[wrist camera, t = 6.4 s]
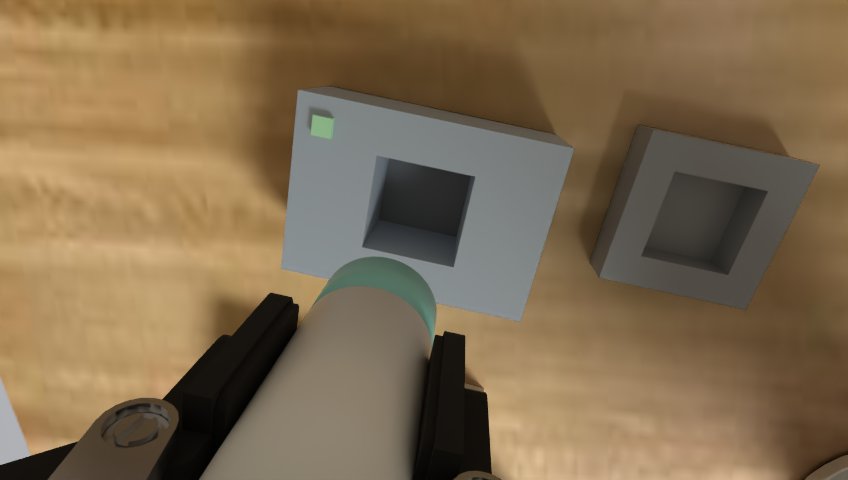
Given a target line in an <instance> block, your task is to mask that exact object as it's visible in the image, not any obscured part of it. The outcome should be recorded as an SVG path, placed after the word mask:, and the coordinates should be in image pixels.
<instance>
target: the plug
mask: <svg viewBox="0 0 848 480" xmlns="http://www.w3.org/2000/svg"><path fill="white" fill-rule="evenodd" d="M435 322H436V302H435V299H434V295H433V293H432V291H431V289H430V287H429V285H428V284H427V282H426V281H425V280H424V279H423V277H422V276H421V275H420V274H419V273H418V272H416V271H415V270H414V269H412V268H411V267H409V266H408V265H406V264H404V263H402V262H400V261H397V260H394V259H391V258H386V257H374V256H373V257H364V258H359V259H356V260H353V261H351V262H349V263H347V264H345V265H344V266H342V267H341V268H339V269H338V270H337V271H336V272H335V273H334V274H333V276H332V277H331V278H330V280H329V281H328V283H327V284H326V286H325V287H324V289H323V290H322V292H321V293H320V295H319V296H318V298H317V299H316V301H315V303H314V304H313V306H312V307H311V309H310V310H309V312H308V313H307V315H306V316H305V318H304V319H303V321H302V322H301V324H300V326H299V327H298V329H297V330H296V332H295V333H294V335H293V336H292V338H291V339H290V341H289V342H288V344H287V345H286V347H285V349H284V350H283V352H282V353H281V355H280V356H279V358H278V359H277V361H276V362H275V364H274V365H273V367H272V368H271V370H270V371H269V373H268V375H267V376H266V378H265V379H264V381H263V382H262V384H261V385H260V387H259V388H258V390H257V391H256V393H255V394H254V396H253V398H252V399H251V401H250V402H249V404H248V405H247V407H246V408H245V410H244V411H243V413H242V414H241V416H240V417H239V419H238V421H237V422H236V424H235V425H234V427H233V428H232V430H231V431H230V433H229V434H228V436H227V437H226V439H225V440H224V442H223V444H222V445H221V447H220V448H219V450H218V451H217V453H216V454H215V456H214V457H213V459H212V460H211V462H210V463H209V465H208V466H207V468H206V470H205V471H204V473H203V474H202V476H201V477H200V479H199V480H413V477H414V470H415V462H416V455H417V447H418V440H419V432H420V425H421V417H422V410H423V402H424V395H425V387H426V380H427V373H428V365H429V359H430V354H431V350H432V346H433V338H434V330H435Z"/></svg>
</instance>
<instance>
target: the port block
mask: <svg viewBox="0 0 848 480" xmlns="http://www.w3.org/2000/svg"><path fill="white" fill-rule="evenodd" d="M573 152H574V148H573V147H572V146H570V145H569V144H568V143H567V142H565V141H564V140H563V139H561V138H560V137H559V136H558V135H556V134H553V133H549V132H544V131H539V130H535V129H530V128H525V127H520V126H516V125H511V124H506V123H502V122H497V121H492V120H488V119H483V118H478V117H473V116H469V115H464V114H459V113H455V112H450V111H445V110H441V109H436V108H431V107H426V106H422V105H417V104H412V103H408V102H403V101H398V100H394V99H389V98H384V97H379V96H375V95H370V94H365V93H361V92H356V91H351V90H347V89H342V88H337V87H332V86H324V87H316V88H307V89H299V90H298V95H297V105H296V116H295V127H294V137H293V148H292V159H291V170H290V180H289V191H288V202H287V212H286V223H285V234H284V245H283V255H282V266H281V269H284V270H289V271H293V272H298V273H302V274H307V275H311V276H316V277H320V278H325V279H329V280H330V278H331V277H332V276H333V274H334V273H335V272H336V271H337V270H338V269H339V268H341V267H342V266H344V265H345V264H347V263H349V262H351V261H353V260H356V259H359V258H364V257H373V256H374V257H386V258H391V259H394V260H397V261H400V262H402V263H404V264H406V265H408V266H409V267H411V268H412V269H414V270H415V271H416V272H418V273H419V274H420V275H421V276H422V277H423V279H424V280H425V281H426V282H427V284H428V285H429V287H430V289H431V291H432V293H433V295H434V299H435V302H436V303H438V304H442V305H447V306H451V307H456V308H460V309H465V310H469V311H474V312H478V313H483V314H487V315H492V316H496V317H501V318H505V319H510V320H514V321H519V322H520V321H521V318H522V315H523V312H524V308H525V305H526V302H527V299H528V296H529V292H530V289H531V286H532V283H533V280H534V276H535V273H536V270H537V267H538V264H539V260H540V257H541V254H542V251H543V248H544V244H545V241H546V238H547V235H548V232H549V228H550V225H551V222H552V219H553V216H554V212H555V209H556V206H557V203H558V200H559V196H560V193H561V190H562V187H563V184H564V181H565V177H566V174H567V171H568V168H569V165H570V161H571V158H572V155H573Z"/></svg>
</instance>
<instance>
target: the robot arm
mask: <svg viewBox="0 0 848 480" xmlns="http://www.w3.org/2000/svg"><path fill="white" fill-rule="evenodd" d="M298 312H299V305H298V304H294V303H293V299H292V297H288V296H284V295H279V294H275V293H270V294H268V295H267V297H266V298H265V299H264V300H263V301H262V302H261V303H260V305H259V306H258V307H257V308H256V309H255V310H254V311H253V313H252V314H251V315H250V316H249V317H248V318H247V319H246V321H245V322H244V323H243V324H242V325H241V326H240V327H239V329H238V330H237V331H236V332H235V333H234V334H233V335H232V336H229V335H222V336H221V337H220V338H218V339H217V340H216V342H215V343H214V344H213V345H212V346H211V347H210V348H209V349H208V350H207V351H206V352H205V354H204V355H203V356H202V357H201V358H200V359H199V360H198V361H197V362H196V363H195V364H194V366H193V367H192V368H191V369H190V370H189V371H188V372H187V373H186V374H185V375H184V376H183V378H182V379H181V380H180V381H179V382H178V383H177V384H176V385H175V386H174V387H173V388H172V389H171V391H170V392H169V393H168V394H167V395H166V396H165V397H164V398H163V399H162V400H161V399H156V398H139V399H134V400H129V401H126V402H123V403H120V404H118V405H115V406H114V407H112V408H110V409H109V410H107V411H105V412H104V413H103V414H102V415H101V416H100V417H99V418H98V419H96V421H95V422H94V423H93V424H92V425H91V427H90V428H89V429H88V430H87V432H86V433H85V434H84V435H83V437H82V438H81V439H80V440H79V441H78V442H75V443H71V444H68V445H65V446H62V447H58V448H55V449H52V450H48V451H45V452H42V453H39V454H35V455H32V456H29V457H25V458H23V459H19V460H16V461H12V462H9V463H6V464H3V465H0V480H199V479H200V477H201V476H202V474H203V473H204V471H205V470H206V468H207V466H208V465H209V463H210V462H211V460H212V459H213V457H214V456H215V454H216V453H217V451H218V450H219V448H220V447H221V445H222V444H223V442H224V440H225V439H226V437H227V436H228V434H229V433H230V431H231V430H232V428H233V427H234V425H235V424H236V422H237V421H238V419H239V417H240V416H241V414H242V413H243V411H244V410H245V408H246V407H247V405H248V404H249V402H250V401H251V399H252V398H253V396H254V394H255V393H256V391H257V390H258V388H259V387H260V385H261V384H262V382H263V381H264V379H265V378H266V376H267V375H268V373H269V371H270V370H271V368H272V367H273V365H274V364H275V362H276V361H277V359H278V358H279V356H280V355H281V353H282V352H283V350H284V349H285V347H286V345H287V344H288V342H289V341H290V339H291V338H292V336H293V335H294V333H295V332H296V330H297V321H298ZM413 480H501V479H500V478H498V477H496V476H494V475H492V472H491V455H490V437H489V419H488V402H487V394H486V392H481V391H477V390H472V389H468V388H465V335H460V334H456V333H451V332H447V331H444V334H443V336H439V335H435V338H434V342H433V346H432V350H431V354H430V359H429V365H428V373H427V380H426V387H425V395H424V402H423V410H422V417H421V425H420V432H419V440H418V447H417V455H416V462H415V470H414V477H413ZM805 480H848V455H845V456H842V457H839V458H837V459H835V460H833V461H831V462H829V463H827V464H825V465H823V466H822V467H820V468H819V469H817V470H816V471H814V472H813V473H811V474H810V475H809V476H808V477H807V478H806V479H805Z"/></svg>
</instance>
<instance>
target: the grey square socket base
mask: <svg viewBox="0 0 848 480" xmlns="http://www.w3.org/2000/svg"><path fill="white" fill-rule="evenodd" d="M819 166H820V165H818V164H815V163H811V162H807V161H804V160H800V159H796V158H793V157H789V156H784V155H780V154H775V153H770V152H765V151H761V150H756V149H751V148H746V147H742V146H737V145H732V144H728V143H723V142H718V141H713V140H709V139H704V138H699V137H694V136H690V135H685V134H680V133H676V132H671V131H666V130H661V129H657V128H652V127H647V126H642V125H638V126H637V129H636V132H635V135H634V138H633V140H632V143H631V146H630V149H629V152H628V154H627V157H626V160H625V163H624V166H623V168H622V171H621V174H620V177H619V180H618V183H617V185H616V188H615V191H614V194H613V197H612V199H611V202H610V205H609V208H608V211H607V213H606V216H605V219H604V222H603V225H602V228H601V230H600V233H599V236H598V239H597V242H596V244H595V247H594V250H593V253H592V256H591V258H590V261H589V262H590V264H591V265H592V267H593V269H594V270H595V272H596V274H597V275H598V277H599V278H602V279H607V280H612V281H616V282H621V283H625V284H630V285H634V286H639V287H644V288H648V289H653V290H657V291H662V292H666V293H671V294H676V295H680V296H685V297H689V298H694V299H698V300H703V301H707V302H712V303H717V304H721V305H726V306H730V307H735V308H739V309H744V310H746V309H747V307H748V305H749V303H750V301H751V299H752V297H753V295H754V293H755V291H756V289H757V287H758V285H759V283H760V281H761V279H762V277H763V275H764V273H765V271H766V269H767V268H768V266H769V264H770V262H771V260H772V258H773V256H774V254H775V252H776V250H777V248H778V246H779V244H780V242H781V240H782V238H783V236H784V234H785V232H786V230H787V228H788V226H789V224H790V222H791V220H792V219H793V217H794V215H795V213H796V211H797V209H798V207H799V205H800V203H801V201H802V199H803V197H804V195H805V193H806V191H807V189H808V187H809V185H810V183H811V181H812V179H813V177H814V175H815V173H816V172H817V170H818V168H819Z"/></svg>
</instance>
